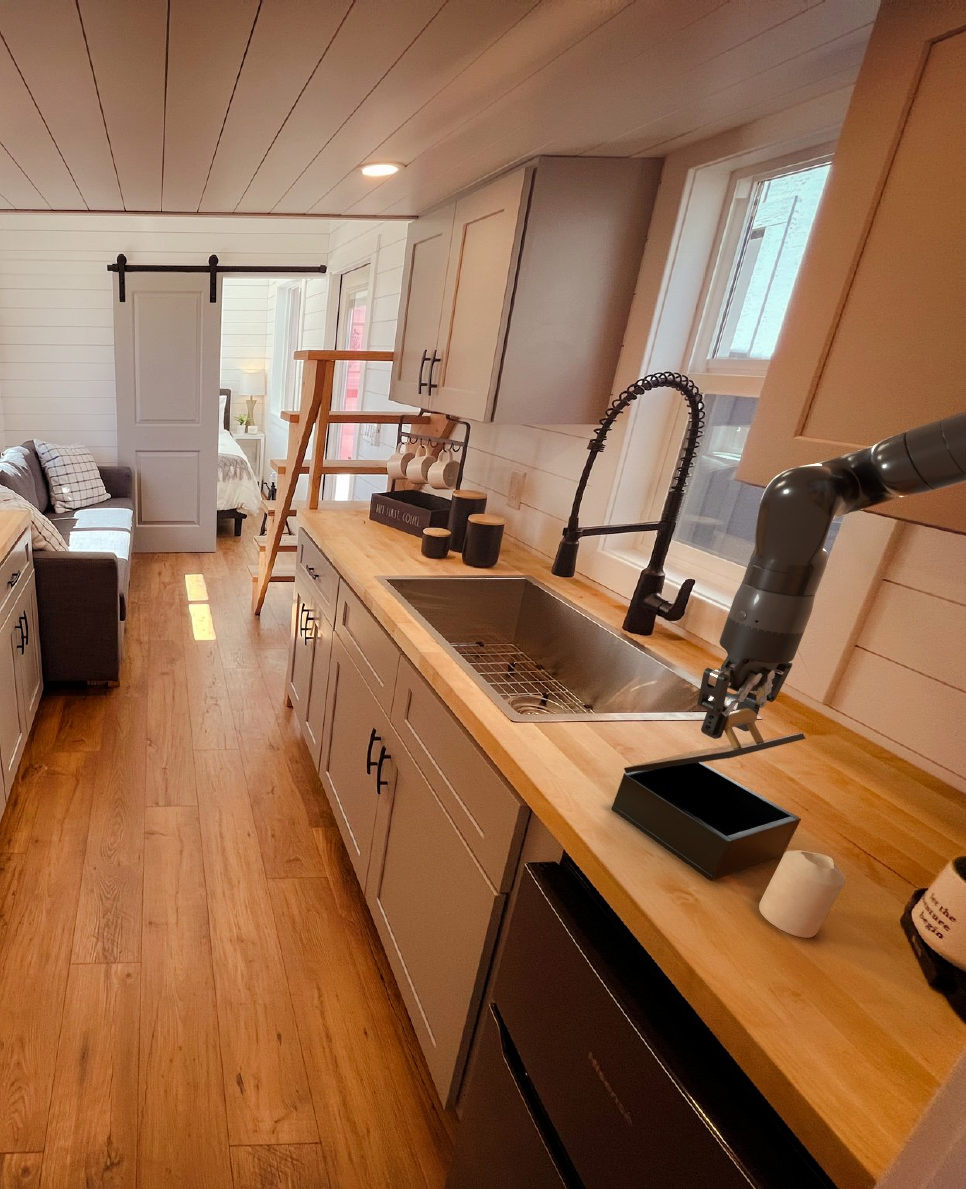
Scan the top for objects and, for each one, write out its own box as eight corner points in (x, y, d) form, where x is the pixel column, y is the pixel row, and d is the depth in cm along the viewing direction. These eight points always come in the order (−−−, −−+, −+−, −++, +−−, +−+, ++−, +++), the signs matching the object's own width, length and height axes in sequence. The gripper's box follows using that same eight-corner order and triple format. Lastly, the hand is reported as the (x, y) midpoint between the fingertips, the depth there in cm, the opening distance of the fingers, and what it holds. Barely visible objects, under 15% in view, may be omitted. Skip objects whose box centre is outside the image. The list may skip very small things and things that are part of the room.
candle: (786, 900, 83) (817, 840, 79) (829, 937, 78) (864, 875, 74) (746, 902, 82) (776, 841, 79) (787, 939, 77) (820, 876, 74)
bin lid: (806, 738, 86) (785, 699, 88) (732, 757, 82) (711, 716, 84) (694, 756, 100) (678, 722, 102) (625, 773, 96) (610, 737, 97)
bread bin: (782, 857, 90) (801, 818, 87) (710, 881, 86) (728, 841, 83) (678, 791, 103) (692, 756, 100) (610, 809, 98) (623, 773, 96)
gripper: (762, 637, 77) (719, 756, 83) (837, 624, 82) (791, 737, 88) (697, 615, 84) (661, 726, 90) (769, 603, 88) (731, 710, 94)
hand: (725, 731), depth 89 cm, fingers closed on bin lid, 5 cm apart
